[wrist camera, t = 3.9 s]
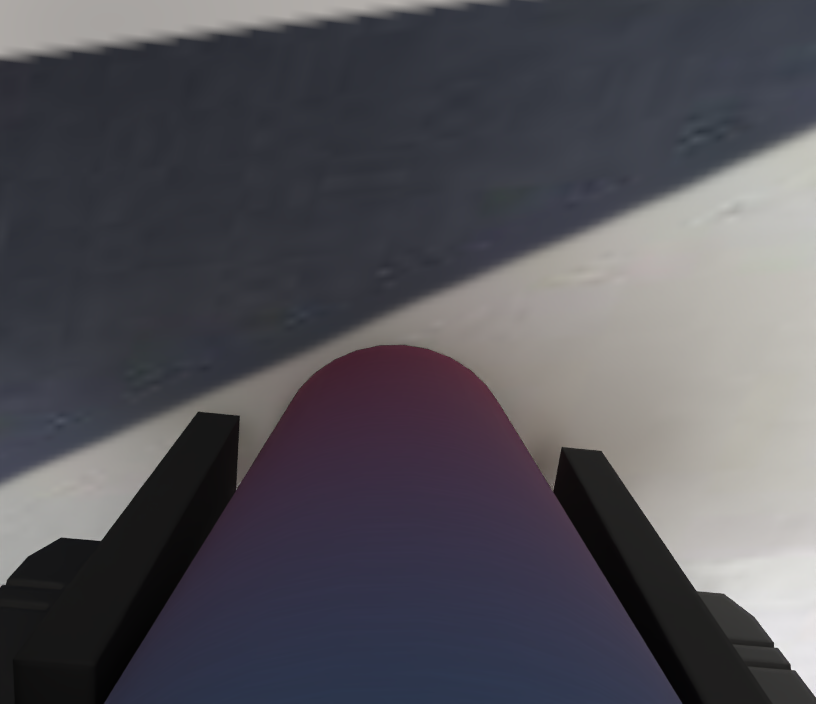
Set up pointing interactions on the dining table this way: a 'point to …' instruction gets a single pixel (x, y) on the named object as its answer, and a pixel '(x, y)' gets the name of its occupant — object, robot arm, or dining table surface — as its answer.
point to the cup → (393, 563)
